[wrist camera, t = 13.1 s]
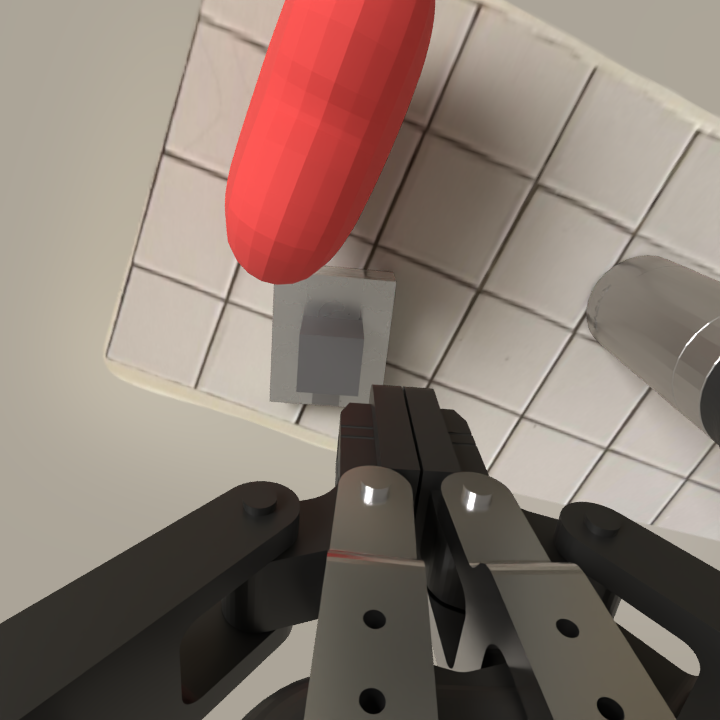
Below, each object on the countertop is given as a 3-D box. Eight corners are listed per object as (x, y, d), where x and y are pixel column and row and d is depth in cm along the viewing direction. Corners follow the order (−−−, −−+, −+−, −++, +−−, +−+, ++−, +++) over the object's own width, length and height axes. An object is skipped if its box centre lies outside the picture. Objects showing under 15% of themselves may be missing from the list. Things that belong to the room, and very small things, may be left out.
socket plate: (393, 272, 48) (397, 284, 44) (377, 393, 52) (380, 413, 49) (278, 261, 47) (273, 273, 43) (273, 385, 52) (268, 405, 48)
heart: (330, 259, 47) (323, 336, 30) (235, 218, 45) (169, 275, 28) (435, 12, 40) (505, -74, 23) (327, -47, 38) (314, -186, 21)
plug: (361, 309, 49) (364, 339, 42) (356, 360, 51) (358, 396, 44) (305, 304, 48) (299, 333, 41) (302, 355, 50) (296, 391, 43)
